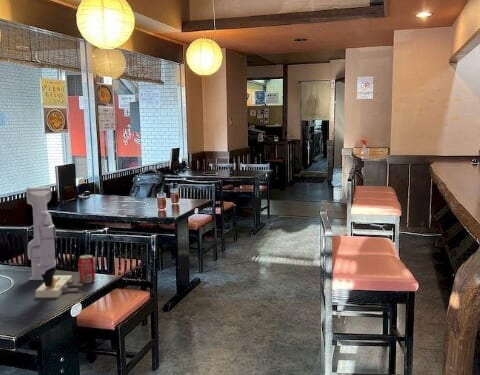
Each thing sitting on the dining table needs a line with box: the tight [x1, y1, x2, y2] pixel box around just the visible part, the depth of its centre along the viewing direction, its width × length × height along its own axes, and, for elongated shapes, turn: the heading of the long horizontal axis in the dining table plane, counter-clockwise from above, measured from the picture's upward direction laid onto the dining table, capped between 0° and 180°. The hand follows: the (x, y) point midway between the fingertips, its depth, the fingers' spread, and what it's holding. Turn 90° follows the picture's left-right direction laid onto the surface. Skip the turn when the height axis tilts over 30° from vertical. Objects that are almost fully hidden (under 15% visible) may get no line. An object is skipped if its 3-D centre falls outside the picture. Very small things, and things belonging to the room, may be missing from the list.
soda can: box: [77, 254, 96, 284], centre depth 210 cm, size 7×7×12 cm
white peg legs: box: [62, 280, 84, 294], centre depth 200 cm, size 9×6×2 cm, turn 4°
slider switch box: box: [35, 274, 73, 299], centre depth 200 cm, size 20×9×3 cm, turn 4°
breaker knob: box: [46, 278, 56, 287], centre depth 194 cm, size 2×3×3 cm
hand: (48, 285), depth 192 cm, fingers closed
